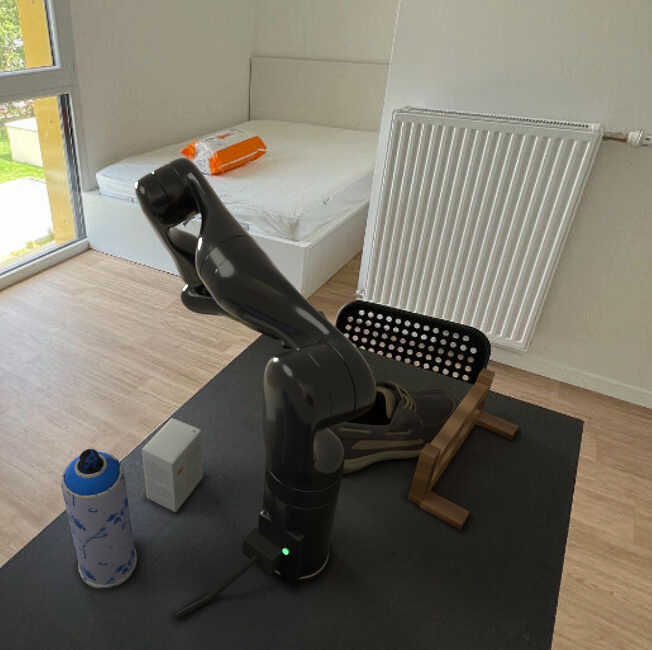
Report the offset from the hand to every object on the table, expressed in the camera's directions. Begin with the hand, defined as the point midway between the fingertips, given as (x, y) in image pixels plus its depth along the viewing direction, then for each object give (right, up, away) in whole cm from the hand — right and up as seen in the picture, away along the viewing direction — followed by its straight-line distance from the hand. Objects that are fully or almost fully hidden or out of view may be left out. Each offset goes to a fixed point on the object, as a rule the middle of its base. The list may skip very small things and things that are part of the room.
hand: (344, 346), depth 94 cm
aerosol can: (-38, -28, -21) cm, 52 cm away
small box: (-29, -22, -11) cm, 38 cm away
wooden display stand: (+18, -19, -7) cm, 27 cm away
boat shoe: (+6, -16, -3) cm, 18 cm away
